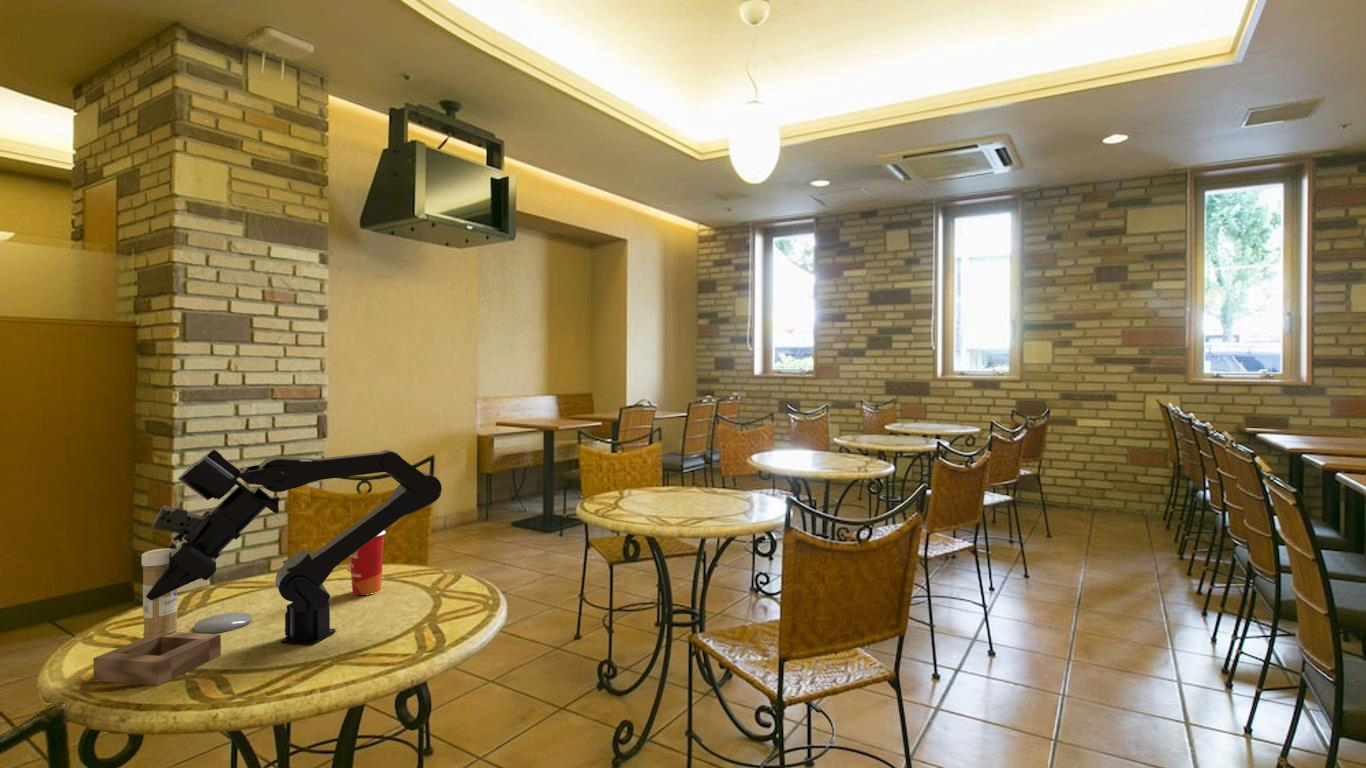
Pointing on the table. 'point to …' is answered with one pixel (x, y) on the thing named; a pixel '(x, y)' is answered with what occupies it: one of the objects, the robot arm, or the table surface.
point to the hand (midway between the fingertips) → (149, 594)
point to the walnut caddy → (157, 658)
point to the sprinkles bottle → (164, 608)
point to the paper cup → (367, 567)
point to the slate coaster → (223, 622)
